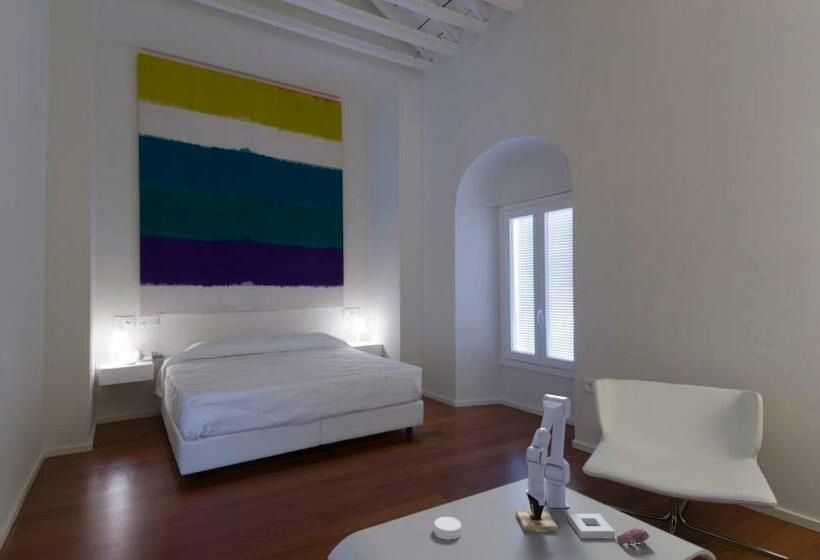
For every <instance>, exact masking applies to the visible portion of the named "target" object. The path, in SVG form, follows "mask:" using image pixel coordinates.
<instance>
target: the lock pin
mask: <svg viewBox="0 0 820 560" xmlns="http://www.w3.org/2000/svg"><path fill="white" fill-rule="evenodd" d="M531 506H532V503H531ZM532 521H540V519H535V517H534V511H533V506H532Z"/></svg>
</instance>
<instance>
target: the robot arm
mask: <svg viewBox="0 0 820 560" xmlns="http://www.w3.org/2000/svg"><path fill="white" fill-rule="evenodd" d="M571 407H572V402H571V399H570V398H569V397H567V396H566V397H565V396H560V395H559V396H558V395H553V394H548V393H546V394H545V395H544V396H543V398H542V408H543V411H544V412H543V416H542V421H541V424H540V428H537V429H536V431H535V433H534V436H533V440H532V442H531V444H530V446H528V447H527V448H526V450H525V460H526V465H527V467H528V478H527V479H528V482H527V489H525V490H524V491H525V494H526V496H527V499H528V502H529V507H530V510H531V512H532V506H533V511H534V517H535V519H541V516H542V512H543V510H545V507H546V505H547V506H548V507H549V508H550V509H569V508H570V506H569V504H568V503H567V502H566V485H567V484H568V483H569V482H570V479H571V469H570V468H571V467H570V464H569V462H568V461H567V460H566V459H565V458H564V451H565V450H564V449H565V437H566V436H565V433H566V420H567V418H570V417H571ZM551 429H552V433H550V432H551ZM550 441H551V446H550V447H551V448H550V456H548V451H549V450H548V447H549V444H550ZM531 503H532V506H531Z"/></svg>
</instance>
